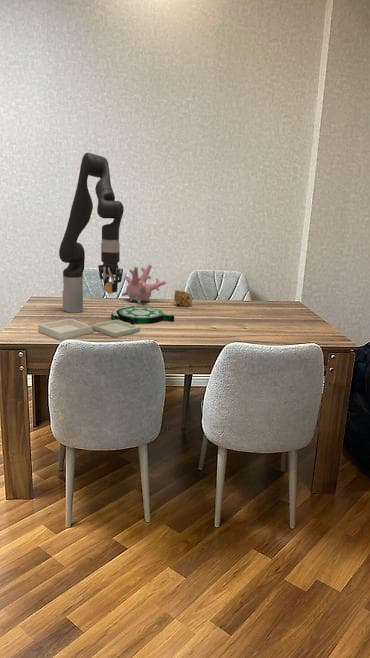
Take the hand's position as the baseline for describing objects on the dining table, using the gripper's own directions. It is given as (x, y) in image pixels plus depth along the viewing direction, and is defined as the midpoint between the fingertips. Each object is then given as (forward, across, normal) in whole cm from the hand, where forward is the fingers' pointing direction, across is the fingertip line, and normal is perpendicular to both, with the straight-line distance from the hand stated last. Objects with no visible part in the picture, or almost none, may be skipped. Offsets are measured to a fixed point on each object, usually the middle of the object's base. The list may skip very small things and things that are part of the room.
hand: (110, 290), depth 206 cm
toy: (+18, +34, -47) cm, 61 cm away
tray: (+18, -1, -2) cm, 18 cm away
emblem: (+18, +7, -25) cm, 32 cm away
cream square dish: (+17, +10, +16) cm, 26 cm away
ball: (-1, 0, 0) cm, 1 cm away
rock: (+18, +16, -62) cm, 67 cm away
